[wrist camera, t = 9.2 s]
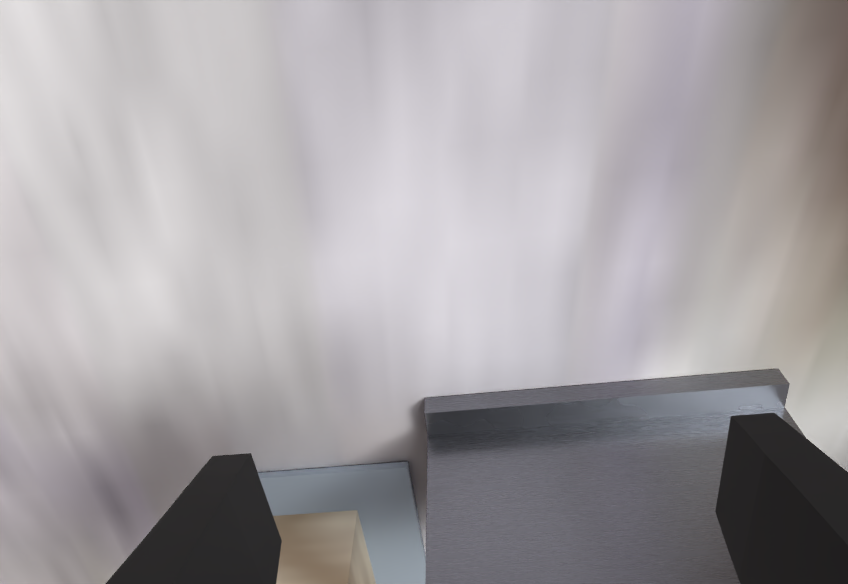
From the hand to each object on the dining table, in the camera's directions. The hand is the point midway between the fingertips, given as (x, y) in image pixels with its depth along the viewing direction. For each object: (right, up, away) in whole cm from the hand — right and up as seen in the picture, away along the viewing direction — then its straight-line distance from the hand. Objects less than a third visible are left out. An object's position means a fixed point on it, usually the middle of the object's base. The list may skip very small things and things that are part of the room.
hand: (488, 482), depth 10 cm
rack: (+6, -10, +18) cm, 22 cm away
